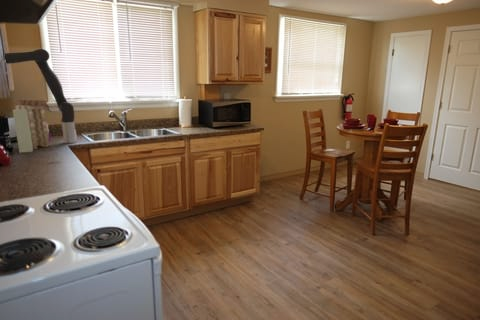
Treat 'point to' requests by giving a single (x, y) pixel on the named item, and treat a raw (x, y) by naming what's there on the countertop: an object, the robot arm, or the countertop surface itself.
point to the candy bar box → (48, 131)
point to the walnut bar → (33, 102)
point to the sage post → (23, 130)
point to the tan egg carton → (36, 125)
